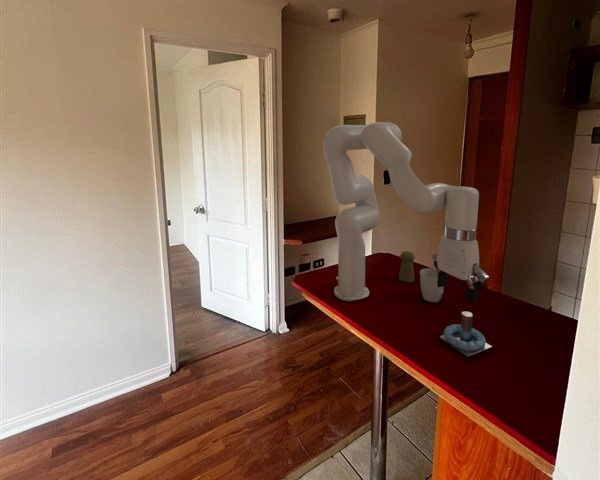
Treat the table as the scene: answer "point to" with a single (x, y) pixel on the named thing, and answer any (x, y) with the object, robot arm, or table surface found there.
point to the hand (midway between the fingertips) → (456, 293)
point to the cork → (406, 267)
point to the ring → (461, 344)
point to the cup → (430, 285)
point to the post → (466, 334)
